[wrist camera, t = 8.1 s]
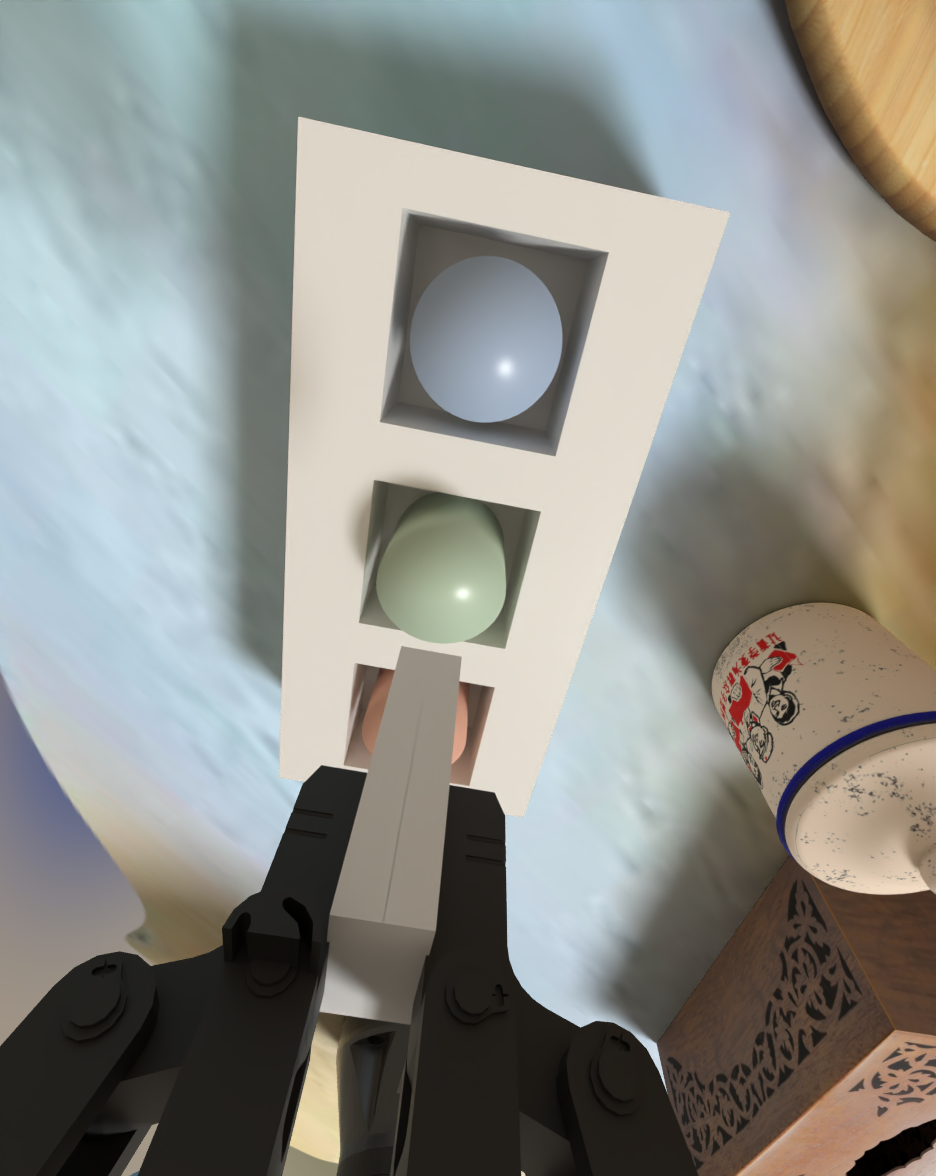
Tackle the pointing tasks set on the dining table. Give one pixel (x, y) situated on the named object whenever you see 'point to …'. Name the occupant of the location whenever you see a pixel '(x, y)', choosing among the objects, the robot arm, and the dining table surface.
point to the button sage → (444, 569)
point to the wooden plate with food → (878, 91)
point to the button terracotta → (378, 706)
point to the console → (465, 428)
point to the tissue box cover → (812, 1038)
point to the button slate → (486, 339)
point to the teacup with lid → (838, 743)
